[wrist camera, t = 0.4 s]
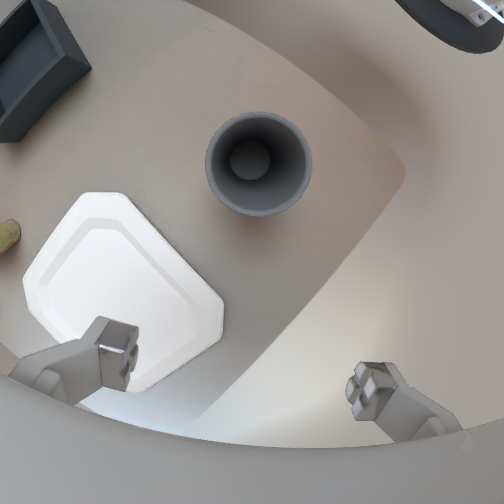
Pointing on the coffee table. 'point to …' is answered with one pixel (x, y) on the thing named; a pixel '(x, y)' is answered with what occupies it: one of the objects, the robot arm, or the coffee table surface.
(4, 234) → the lighter
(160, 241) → the plate
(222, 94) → the coffee table surface
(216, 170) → the cup
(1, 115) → the tub
